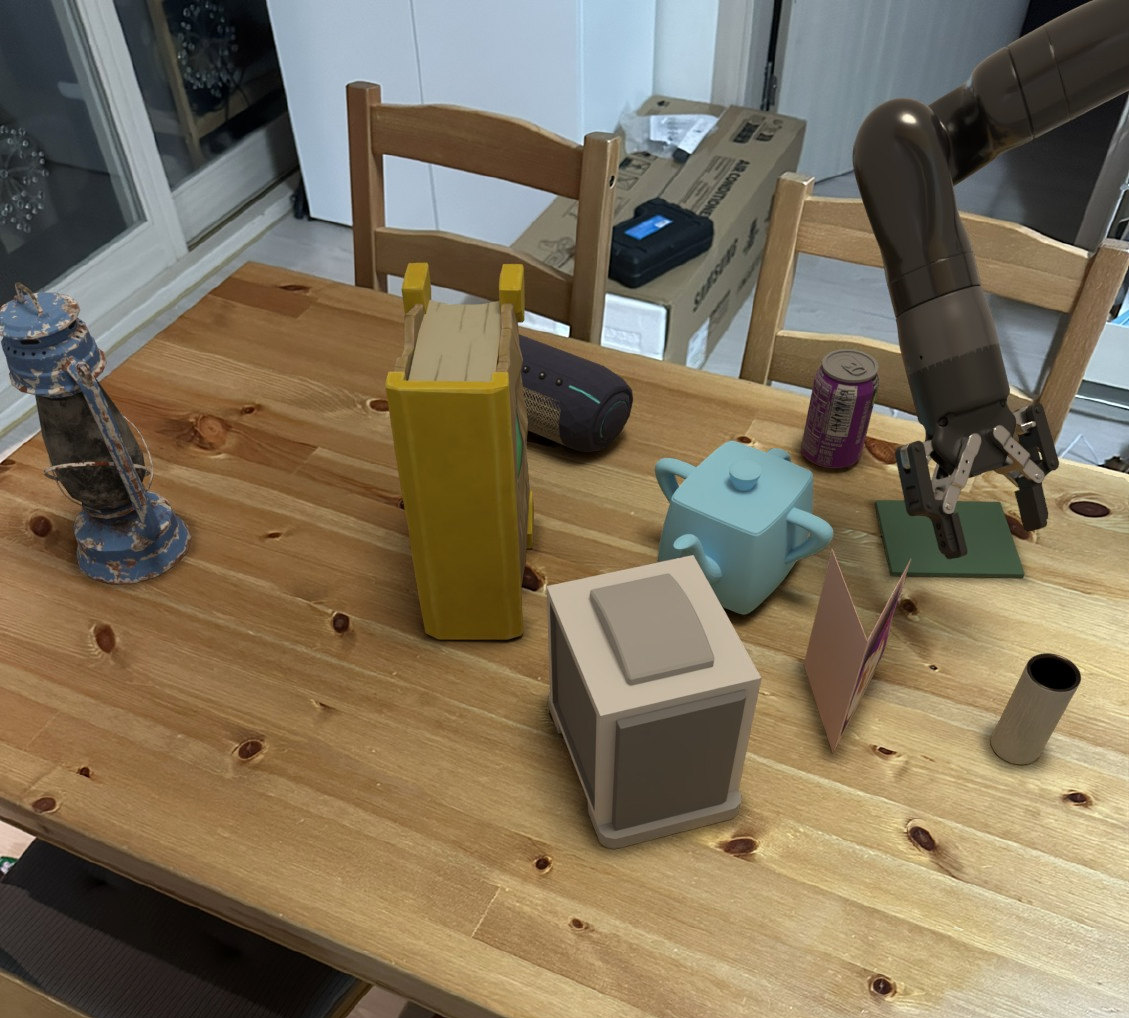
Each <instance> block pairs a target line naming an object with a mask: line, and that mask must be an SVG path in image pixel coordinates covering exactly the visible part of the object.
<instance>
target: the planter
mask: <svg viewBox="0 0 1129 1018" xmlns="http://www.w3.org/2000/svg"><path fill="white" fill-rule="evenodd" d="M1081 682H1082V674H1081V671H1080V669H1079V668H1078V667H1077V665H1076V664H1075V663H1074V662H1073V661H1072V660H1070V659H1068V658H1067V657H1065V656H1063V655H1060V654H1056V653H1052V652H1051V653H1050V652H1049V653H1048V652H1044V653H1039V654H1036V655H1034V656H1032V657H1030V658H1029V660H1028V661H1027V662H1026V665H1025V667H1024V669H1023V671H1022V673H1021V675H1020V677H1019V679H1018V681H1017V683H1016V685H1015V686H1014V688H1013V691H1012V693H1011V695H1010V697H1009V699H1008V701H1007V704H1006V706H1005V707H1004V709H1003V712H1002V713H1001V716H1000V718H999V720H998V722H997V724H996V725H995V728H994V730H993V732H992V735H991V737H990V745H991V748H992V750H993V751H994V752H995V754H996V755H997V756H998V757H999V758H1001V759H1002V760H1004V761H1006V762H1008V763H1010V764H1015V765H1029V764H1031V763H1034V762H1036V761H1037V760H1038V758H1039V757H1040V756H1041V754H1042V752H1043V751H1044V749H1045V747H1046V745H1047V744H1048V742H1049V741H1050V738H1051V737H1052V735H1053V733H1054V731H1055V729H1056V727H1057V726H1058V724H1059V722H1060V720H1061V718H1062V717H1063V715H1064V713H1065V711H1066V710H1067V708H1068V706H1069V705H1070V703H1071V701H1072V699H1073V697H1074V695H1075V693H1076V692H1077V690H1078V688H1079V686H1080V684H1081Z"/></svg>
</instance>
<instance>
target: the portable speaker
mask: <svg viewBox="0 0 1129 1018" xmlns="http://www.w3.org/2000/svg"><path fill="white" fill-rule="evenodd" d="M519 346H520V350H521V354H522V358H523V363H522V368H521V377H522V384H523V391H524V399H525V406H526V413H527V420H528V429H527V432H531V433H533V434H535V435H538V436H541V437H543V438H546V439H548V440H550V441H553V442H555V443H558V444H559V445H562V446H565V447H566V448H569V449H572V450H575V451H577V452H581V453H582V452H583V453H590V452H591V453H592V452H597V451H598V452H599V451H602V450H605V449H606V448H608V447H609V446H610V445H611V444H612V443H613V442H614V441H615V440H616V439H617V438H618V437H619V436H620V435H621V433H622V431H623V430H624V427H625V426H626V424H627V422H628V420H629V419H630V416H631V413H632V409H633V403H634V394H633V389H632V387H631V386H630V385H629V384H628V382H627V381H626V380H625V379H624V378H623V377H621V376H620V375H619V374H617V373H615V372H614V371H612V370H611V369H609V368H608V367H607V366H605V365H603V364H600V363H597V362H594V361H592V360H589V359H587V358H584V357H581V356H580V355H579V356H578V355H576V354H573V353H570V352H568V351H566V350H562V349H560V348H557V347H554V346H553V345H549V344H547V343H544V342H541V341H538V340H535V339H534V338H530V337H527V336H525V335H522V334H520V333H519Z"/></svg>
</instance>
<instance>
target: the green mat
mask: <svg viewBox="0 0 1129 1018" xmlns="http://www.w3.org/2000/svg"><path fill="white" fill-rule="evenodd" d="M874 506H875V510H876V515H877V519H878V524H879V529H880V532H881V538H882V541H883V545H884V551H885V555H886V560H887V563H888V568H889V573H890V576H891V577H901V576H902V574H903V573H904V571H905V569H906V567H907V565H908V563H909V561H910V559H911V561H910V564H909V568H908V571H907V574H906V577H940V578H944V577H945V578H995V579H996V578H999V579H1000V578H1001V579H1005V578H1006V579H1014V578H1015V579H1023V578H1024V577H1025V575H1026V573H1025V570H1024V568H1023V565H1022V564H1023V563H1022V561H1021V559H1020V558H1021V557H1020V555H1019V553H1018V550H1017V547H1016V544H1015V541H1014V538H1013V535H1012V532H1011V529H1010V526H1009V523H1008V520H1007V517H1006V515H1005V511H1004V508H1003V506H1002V503H1001V501H979V500H978V501H976V500H975V501H973V500H972V501H970V500H969V501H968V500H967V501H966V500H958V501H957V504H956V507H955V510H954V512H953V513H957V512H958V514H959V518H960V522H961V526H962V530H963V534H964V538H965V542H966V546H967V550H968V552H967V555H965V556H962V557H959V558H954V559H947V558H946V557H945V555H944V554H942V553H941V552H940V550H939V548H938V544H937V540H936V536H935V532H934V528H933V524H932V521H931V520H930V518H928V517H926V516H909V515H908V513H907V511H906V506H905V501H904V499H900V500H897V499H896V500H895V499H893V500H891V499H876V500H875V502H874Z"/></svg>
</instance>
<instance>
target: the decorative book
mask: <svg viewBox="0 0 1129 1018" xmlns="http://www.w3.org/2000/svg"><path fill="white" fill-rule="evenodd" d="M429 265H430V264H429V263H428V262H409V263H407V266H406V270H405V273H404V276H403V279H402V284H401V289H400V290H401V296H402V304H403V311H404V315H403V317H404V323H403V324H404V325H403V326H404V328H403V329H404V331H403V333H404V339H403V342H404V345H403V347H404V349H403V351H402V354H401V356H399V357H398V356H397V358H396V360H395V364H394V368H393V371H388V372H387V376H386V379H385V382H384V383H385V384H384V385H385V394H386V400H387V408H388V414H389V419H390V420H389V421H390V426H391V427H390V428H391V434H392V441H393V447H394V453H395V460H396V468H397V471H398V472H397V473H398V478H399V485H400V486H399V487H400V492H401V496H402V502H403V503H402V504H403V509H404V514H405V519H406V524H407V529H408V537H409V545H410V546H409V547H410V553H411V559H412V564H413V570H414V571H413V572H414V577H415V578H414V579H415V583H416V589H417V596H418V601H419V605H420V606H419V607H420V611H421V616H422V621H423V626H424V632H425V634H426V635H429V636H430V637H432V638H434V639H436V640H511V639H514V638H518V637H521V636H523V633H524V616H523V597H522V586H523V580H524V574H525V569H526V562H527V550H530V549H533V544H534V533H535V532H534V531H535V504H534V495H533V491H532V490H531V486H530V485H531V484H530V476H529V474H530V473H529V465H528V464H529V463H528V454H527V453H528V452H527V441H528V430H527V429H528V420H527V413H526V406H525V399H524V391H523V384H522V377H521V368H522V363H523V358H522V354H521V350H520V346H519V334H520V333H519V331H520V330H519V323H520V324H521V323H522V324H523V323H524V322H525V319H526V318H525V312H526V311H525V310H526V309H525V307H526V306H525V305H526V303H525V302H526V299H525V298H526V297H525V295H526V294H525V293H526V292H525V291H526V290H525V289H526V287H525V268H524V265H523V264H522V263H503V264H502V267H501V271H500V274H499V281H498V294H499V295H498V298H499V299H498V300H497V301H492V302H487V303H486V302H485V303H482V304H466V303H465V304H463V303H462V304H461V303H460V304H459V303H458V304H451V303H445V302H441V301H440V302H439V301H436V300H432V283H431V282H432V281H431V273H430V267H429Z"/></svg>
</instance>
